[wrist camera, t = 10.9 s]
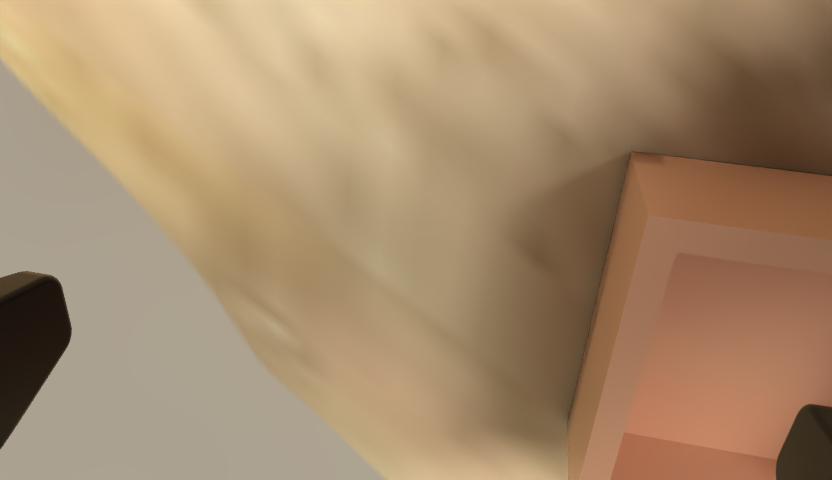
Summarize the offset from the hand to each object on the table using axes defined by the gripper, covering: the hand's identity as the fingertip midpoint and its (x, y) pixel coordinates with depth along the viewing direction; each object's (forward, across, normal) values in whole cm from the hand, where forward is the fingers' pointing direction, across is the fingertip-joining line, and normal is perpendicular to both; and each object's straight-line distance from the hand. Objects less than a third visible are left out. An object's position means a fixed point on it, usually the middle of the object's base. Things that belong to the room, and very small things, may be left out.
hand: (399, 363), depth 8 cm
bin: (+12, -9, +6) cm, 16 cm away
